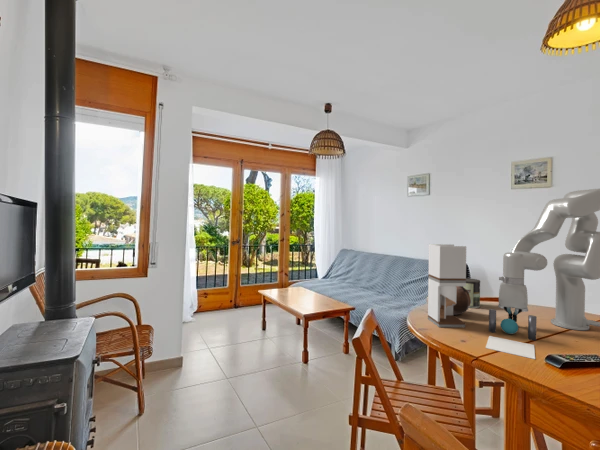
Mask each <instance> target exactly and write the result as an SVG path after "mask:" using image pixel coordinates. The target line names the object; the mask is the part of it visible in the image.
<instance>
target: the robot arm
mask: <svg viewBox="0 0 600 450" xmlns="http://www.w3.org/2000/svg"><path fill="white" fill-rule="evenodd" d="M599 211H600V188H593V189H581V190H579V189H578V190H573V191H569V192H567V193H566V194H565V195H564V196H563V198H556V199H552V200H548V201H547V203H546V204H545V206H544V208H543V209H542V211H541V213H540V215H539V217H538V219H537V222H536V223H535V225H534V226H533V228H532V229H531V230H530V231H528V232H527V233H526V234H524V235H523V236H522V237H521V238H520V239H519V240H518V241H517V242H516V244H515V245H514V248H513V249H512V252H505V253H504V254H503V255H502V256H503V263H502V276H499V277H498V280H499V281H502V282H501V283H500V284H499V291H498V304H497V305H498V308H500V309H503V310H504V311H505V312H506V313H507V316H508V318H507V319H512V320H514V321H515V322H516V323H517V322H518V315H519V314H520V313H523V312H525V313H528V312H529V309H528V301H529V300H528V299H529V297H528V289H527V285H525V270H529V271H542V270H544V269H546V268H547V266H548V259H547V257H546V256H544V255H543V254H541V253H538V252H531V251H532V250H533V249H534V248H535V247H536V246H538V245H539V244H542V243H544V242H546V241H549V240H552V239H554V238H556V237H557V236H558V235H559V234H560V231H561V228H562V226H563V225H564V223H565V221H566V219H571V222H570V227H569V229H568V233H567V235H566V237H565V240H564V241H565V243H564V245H565V248H566V249H567V250H568V251H570V252H574V253H575V252H576V253H580V254H573V253H563V254H562V253H561V254H559V255H557V256H556V257H555V258H554V260H553V262H552V263H553V265H552V266H553V270H554V275H555V317H554V318H551V319H550V323H551V324H553V325H554V326H557V327H561V328H563V329H568V330H574V331H590V326H593V327H600V321H595V320H592V319H587V317H586V316H585V312H586V311H585V310H586V309H585V307H586V285H585V282H584V280H583V279H586V280H591V281H592V280H593V281H594V280H600V231H597V229H598V225H599V219H598V216H597V214H596V212H599ZM581 254H585V255H581ZM512 309H514V311H513V312H512Z"/></svg>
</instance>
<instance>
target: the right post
mask: <svg viewBox="0 0 600 450" xmlns="http://www.w3.org/2000/svg"><path fill="white" fill-rule="evenodd" d="M527 318H528V321H527V323H528V325H527V326H528V327H527V339H528V340H530V341H537V322H538V321H537V320H538V319H537V316H535V315H533V314H531V315H530V314H528V316H527Z"/></svg>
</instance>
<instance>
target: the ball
mask: <svg viewBox="0 0 600 450" xmlns="http://www.w3.org/2000/svg"><path fill="white" fill-rule="evenodd" d="M499 324H500V328H501V330H502V331H503V333H505V334H508V335H514V334H516V333H517V332H518V331H519V324H518V323H517V322H515V321H514V320H513V318H512V319H508V318H504V319H503V320H501V321H500V323H499Z"/></svg>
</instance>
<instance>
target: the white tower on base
mask: <svg viewBox="0 0 600 450" xmlns="http://www.w3.org/2000/svg"><path fill="white" fill-rule="evenodd" d="M466 278H467V246H466V245H465V246H463V245H461V246H460V245H458V246H457V245H455V244H451V243H449V244H448V243H447V244H443V243H441V244H435V243H433V244H430V243H429V244H428V278H427V279H428V287H427V288H428V289H427V290H428V291H427V292H428V293H427V297H428V298H427V320H428V321H430V322H431V323H432V322H433V323H432V324H434V325H435V326H436V325H437V326H436V327H438V328H466V322H465V321H463V320H461V319H460V318H458V317H457V316H454V315H453V305H456V295H457V287H456V286H466Z"/></svg>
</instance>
